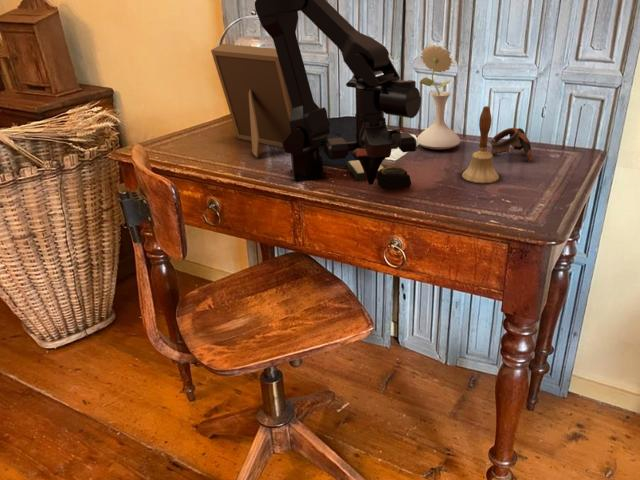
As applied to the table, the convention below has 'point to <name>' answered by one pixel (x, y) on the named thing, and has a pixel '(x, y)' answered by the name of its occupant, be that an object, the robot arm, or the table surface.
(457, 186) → the table surface
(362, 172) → the tan flat block
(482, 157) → the hand bell
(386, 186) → the tape measure
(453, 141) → the flower in vase
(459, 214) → the table surface
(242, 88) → the photo frame
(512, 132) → the brown leather strap
